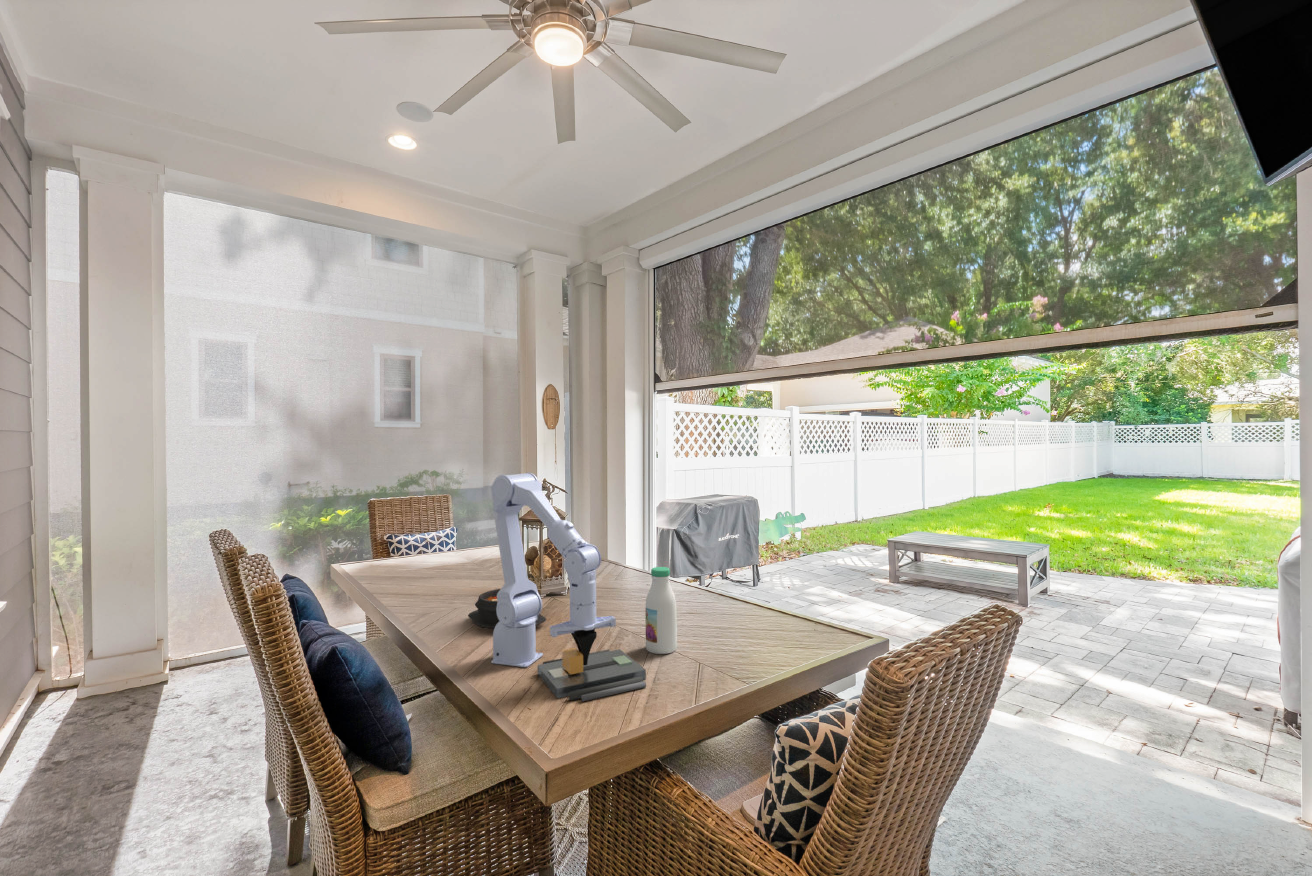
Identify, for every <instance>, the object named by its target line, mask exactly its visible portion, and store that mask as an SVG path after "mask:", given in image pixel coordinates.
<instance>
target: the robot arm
mask: <svg viewBox="0 0 1312 876" xmlns="http://www.w3.org/2000/svg"><path fill="white" fill-rule="evenodd" d="M542 490H543V484H542V482H541V481H540V480H539V479H538V477H537V476H536V475H535V474H534V473H532V472H526V473H518V474H517V473H515V474H514V473H513V474H500V475H498V476H497V477H495V479H494V481H493V482H492V484H491V486H490V493H491V498H492V505H493V506H492V507H493V509H492V510H493V517H494V523H495V524H494V525H495V530H496V537H497V543H498V549H499V555H500V561H501V568H502V574H503V580H504V581H503V582H504V584H503V585H502V586H501V588H499V589H500V591H499V592H498V593H497V608H496V612H497V617H498V619H499V621H500V622H498V623H497V625H496V626H495V629H493V632H492V655H493V656H492V660H491V664H495V665H503V666H511V667H520V668H528V667H529V666H531V665H533V663H534V662H536V661H537V660H539V659H540V658H542V657H543V656H544V653H543V652H537V651H536V647H537V646H536V645H537V644H536V643H537V642H536V640H537V639H536V626H535V621H536V620H537V615H539V614H541V613H542V609H543V600H542V597H541V595H540V593H539V591H538V588H537V587H538V586H537V584H536V583H534V582H533V581H531V580H530V579H529V578H528V571H527V564H526V559H525V554H524V553H525V551H524V548H523V547H524V546H523V545H524V544H523V539H522V534H521V529H520V528H521V527H520V520H519V514H520V511H521V510H522V509H523V507H524V506H527V507H528V508H529V509H530V510H531V511H532V512H533V514H534V515H536V517H537V518H538V519H539V520H540V521H541V522H542V523H543V524H544V526H545V527H546V528H547V529H548V531H547V538H548V539H549V540H550V542H551V543H552V544H553V545H554V547H555V549H557V551H558V552H559V554H561V556H562V557H563V558H564V560H563V563H562V564H563V567H564V570H565V572H566V574H567V581H568V583H569V620H568V621H563V622H561V623H557V624H554V625H549V636H550V637H552V638H557V637H558V636H562V635H567V634H569V635H570V634H571V636H572V638H573V640H574V642H575V645H576V647H577V650H578V651H579V652H580V653H581V654H582V655H583V665H587V663H588V656H589V653H591V649H592V647H593V644H594V643H595V640H596V638H597V637H598V636H597V633H598V632H597V631H596V629H603V628H604V629H605V628H608V627H610V628H614V627H616V617H615V616H613V615H607V616H597V572H596V571H597V569H598V568H599V567H600V566H601V563H602V555H601V552H600V550H599V549H598V547H597V546H596V545H595V544H591V543H589V542H587V541H585V539H584V538H583V537H582V536H581V535H580V534H579V533H578V531H577V529H576V528H575V525H574V524H573V523H572V522H571V521H569V520H566V519H561V518H560V516H559V515H558V513H557V511H556V510H555V508H554V507H553V506H552V503H550V501H549V499H548V498H547V496H546V495H545V493H544V492H543V491H542ZM518 593H521V594H518ZM516 594H518V595H516Z"/></svg>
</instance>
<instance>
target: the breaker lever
mask: <svg viewBox="0 0 1312 876" xmlns="http://www.w3.org/2000/svg"><path fill="white" fill-rule="evenodd" d="M561 654H562V655H561V658H562V667H563V668H564V669H565V670H566V671H567V672H568V673H569V674H570V675H571V674H576V673H581V672H583V655H582V654H581V653H580V652H579V650H578V648H576V647H572V648H567V649H562V650H561Z"/></svg>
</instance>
